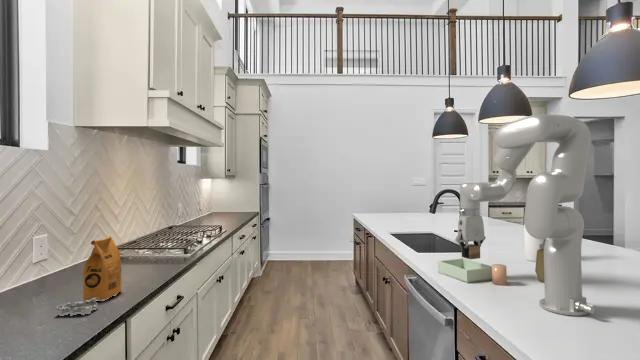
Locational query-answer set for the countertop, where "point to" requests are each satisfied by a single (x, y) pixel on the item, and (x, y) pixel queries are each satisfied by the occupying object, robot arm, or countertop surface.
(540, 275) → the squeeze bottle
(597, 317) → the countertop surface
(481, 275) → the tote
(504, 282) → the terracotta cylinder
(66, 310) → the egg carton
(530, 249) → the alcohol
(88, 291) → the coffee package
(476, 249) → the walnut cube
